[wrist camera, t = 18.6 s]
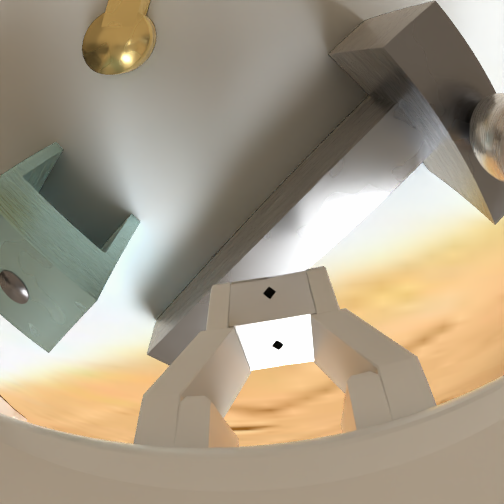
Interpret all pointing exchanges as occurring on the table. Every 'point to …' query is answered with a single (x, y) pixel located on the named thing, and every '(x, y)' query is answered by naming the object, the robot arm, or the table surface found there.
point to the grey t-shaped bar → (366, 158)
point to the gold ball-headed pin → (119, 38)
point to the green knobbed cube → (48, 256)
